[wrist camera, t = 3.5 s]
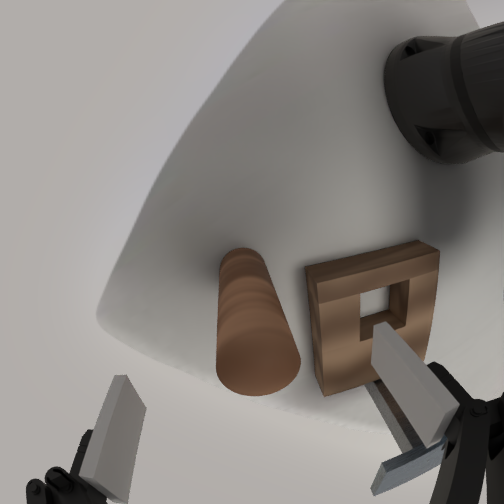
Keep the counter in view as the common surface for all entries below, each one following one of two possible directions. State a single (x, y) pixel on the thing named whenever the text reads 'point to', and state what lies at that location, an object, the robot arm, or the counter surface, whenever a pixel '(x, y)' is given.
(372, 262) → the socket board
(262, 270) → the peg
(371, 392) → the grey t-shaped block
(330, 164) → the counter surface
